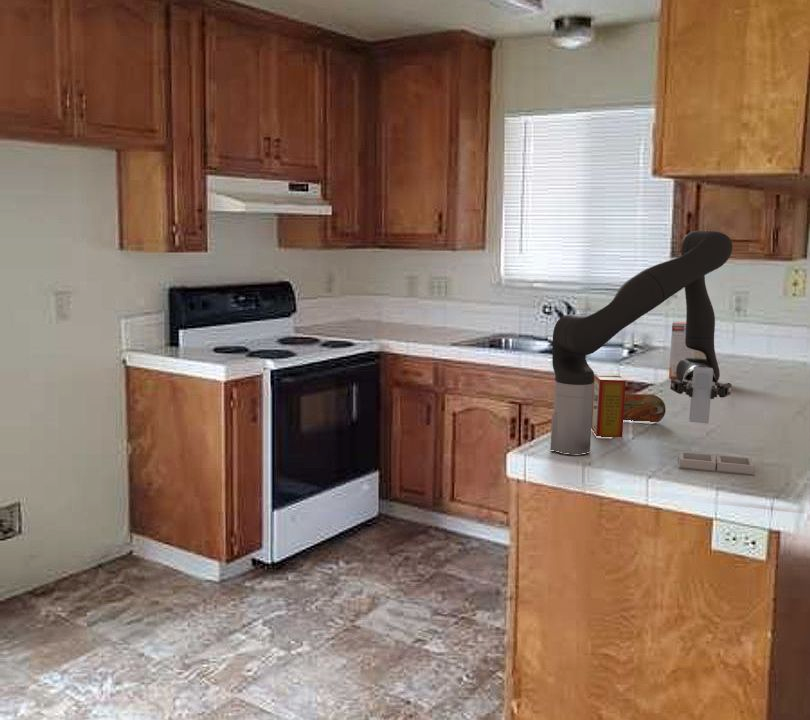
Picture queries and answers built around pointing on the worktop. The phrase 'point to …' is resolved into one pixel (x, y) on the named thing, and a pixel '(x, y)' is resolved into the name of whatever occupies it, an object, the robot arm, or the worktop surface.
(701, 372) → the plug
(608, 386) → the baking soda box
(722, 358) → the worktop surface
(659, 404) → the tin
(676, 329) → the cracker box
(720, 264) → the robot arm
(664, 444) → the worktop surface
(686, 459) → the grey divided tray
